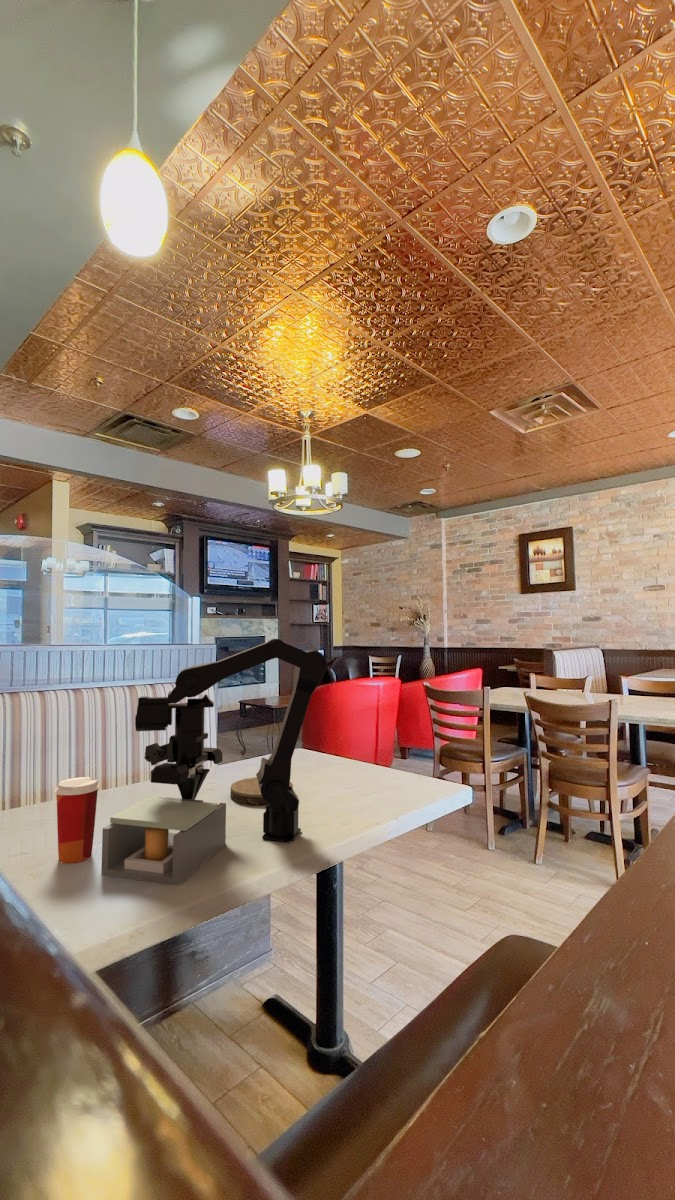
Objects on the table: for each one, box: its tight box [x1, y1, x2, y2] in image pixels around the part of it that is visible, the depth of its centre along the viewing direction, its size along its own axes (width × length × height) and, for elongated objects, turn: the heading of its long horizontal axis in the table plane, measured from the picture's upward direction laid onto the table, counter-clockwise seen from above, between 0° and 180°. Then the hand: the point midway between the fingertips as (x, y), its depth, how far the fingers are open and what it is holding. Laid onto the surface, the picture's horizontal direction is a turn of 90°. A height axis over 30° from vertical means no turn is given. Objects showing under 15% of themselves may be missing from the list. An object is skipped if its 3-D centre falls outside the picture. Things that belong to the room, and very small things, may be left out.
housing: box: [100, 796, 227, 886], centre depth 101 cm, size 15×18×8 cm
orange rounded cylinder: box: [145, 827, 170, 861], centre depth 97 cm, size 4×4×6 cm
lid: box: [109, 796, 218, 831], centre depth 101 cm, size 15×13×3 cm
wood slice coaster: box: [230, 776, 294, 807], centre depth 139 cm, size 16×16×3 cm
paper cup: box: [54, 776, 100, 865], centre depth 102 cm, size 8×8×14 cm
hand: (188, 807), depth 109 cm, fingers closed
